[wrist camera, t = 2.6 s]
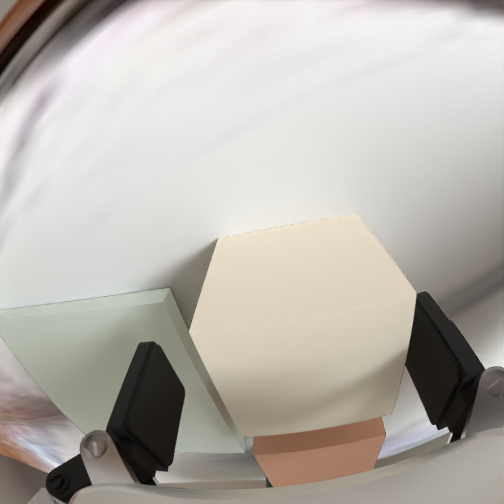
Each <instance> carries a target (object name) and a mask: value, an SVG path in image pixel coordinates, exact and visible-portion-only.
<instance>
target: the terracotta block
mask: <svg viewBox="0 0 504 504" xmlns="http://www.w3.org/2000/svg"><path fill="white" fill-rule="evenodd" d="M385 436H386V432H385V429H384V425H383V421H382V418H381V417H377V418H373V419H369V420H364V421H360V422H355V423H351V424H346V425H341V426H335V427H330V428H324V429H318V430H311V431H304V432H297V433H288V434H279V435H268V436H254V449H253V456H254V457H255V459H256V461H257V462H258V464H259V465H260V467H261V469H262V470H263V472H264V474H265V475H266V477H267V478H268V480H269V481H270V483H271V484H272V486H273V487H283V486H292V485H299V484H307V483H313V482H319V481H325V480H330V479H335V478H340V477H345V476H350V475H354V474H358V473H362V472H366V471H370V470H373V469H374V466H375V463H376V461H377V458H378V456H379V453H380V450H381V447H382V445H383V442H384V439H385Z"/></svg>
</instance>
